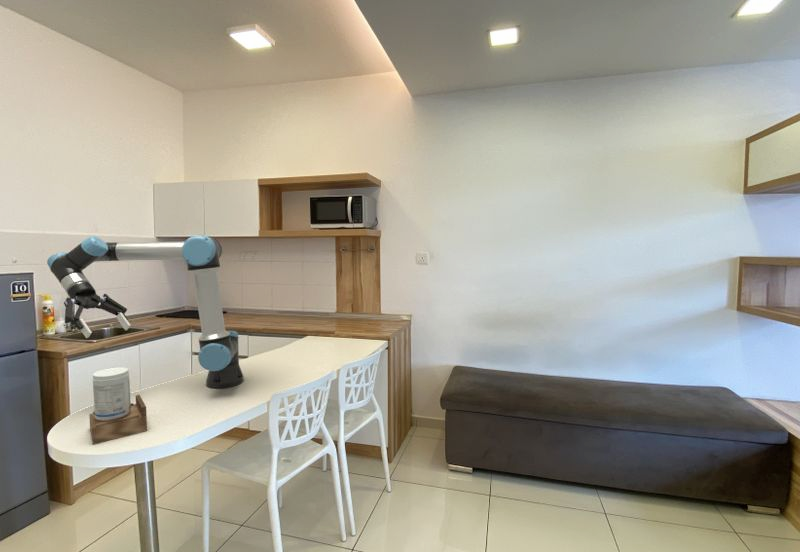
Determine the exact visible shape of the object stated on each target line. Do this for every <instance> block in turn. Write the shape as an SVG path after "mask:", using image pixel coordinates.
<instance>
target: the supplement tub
mask: <svg viewBox="0 0 800 552" xmlns="http://www.w3.org/2000/svg"><path fill="white" fill-rule="evenodd" d="M130 382H131V381H130V373H129V368H127V367H122V366H121V367H112V368H111V367H110V368H105V369H101V370H98V371H95V372H94V373H92V390H93V405H94V409H93V410H94V411H95V418H96V419H97V420H99V421H110V420H115V419H119V418H122V417H124V416H126V415H127V414H129V413H130V411H131V403H132V402H131V385H130Z"/></svg>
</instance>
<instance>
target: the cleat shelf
mask: <svg viewBox="0 0 800 552" xmlns="http://www.w3.org/2000/svg"><path fill="white" fill-rule="evenodd" d="M88 416H89V429H90V435H91V443H92V445H97V444H99V443H104V442H107V441H112V440H115V439H120V438H124V437H129V436H132V435H135V434H140V433H144V432H147V431H148V421H147V419H148V418H147V417H148V416H147V405H146V404H145V402H144V400H143V398H142V397H141V394H136V395H135V403H133V402H131V411H130V413H129V414H127V415H126V416H124V417H122V418H119V419H115V420H110V421H99V420H97V419H96V418H95V410H93V411H92V412H90V413H89V415H88Z"/></svg>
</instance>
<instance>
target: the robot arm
mask: <svg viewBox="0 0 800 552" xmlns="http://www.w3.org/2000/svg"><path fill="white" fill-rule="evenodd" d="M222 254H223V247H222V245H221V243H220V241H218V239H217V238H215V237H212V236H209V235H208V236H207V235H204V234H201V235H200V234H198V235H192V236H191V237H189V238H187V239H186V240H184V241H141V242H138V241H136V242H135V241H134V242H133V241H131V242H129V241H127V242H122V241H121V242H117V241H116V242H115V241H114V242H110V241H109V242H105V241H104V240H102V239H101V238H100V237H98V236H95V235H91V236H89V237H87V238H86V239H84V240H83V241H82V242H81V243H79V244H77V245H76V246H75V247H74V248H73V249H72V250H71V249H70V251H69V252H66V251H65V252H64V251H63V252H62V251H61V252H56V254H55V253H54V254H51V255H50V256H49V257H48V258H47V260H46V264H47V266H48V268H49V271H50V272H51V273H52V274H53V275H54V276H55V278H56V279H57V280H58V282H59V283H60V285H61V287H62V288H63V290H64V291H65V292H66V293H67V295H68V297H66V298H65V300H64V302H63V305H64V307H65V310H64V311H65V313H64V323H65V324H69V323H70V325H71V326H75V328H76V329H77V330H79V331H81V333H82V334H83V335H84V337H85V339H88V338H89V337H90V336H91V334H92V333H93V331H92V330H91V329H90V328H89V326H88V324H87V323H86V322H85V320H84V319H83V318H80V317H81V316H82V313H83V310H84V309H85V310H89V309H98V310H103V311H105V312H108V313H109V314H112V315H113V316H115V318H116V319H117V321H118V322H119V323H120V326H122V328H123V329H124V330H125V331H128V330H129V329H130V327H131V325H132V324H131V323H130V322H129V321H128V317H127V316H126V312H127V310H128V308H127V307H125V306H123V305H121V304H120V303H119V302H117V301H115V300H114V299H113V298H111V297H110V296H109V295H108V294H107V293H104V294H103V295H98V294H97V292H96V289H95V288H94V286H93V285H92V284H91V283H90V281H89V279H88V278H87V277H86V275H85V274H84V273H83V270H85V269H86V268H87V267H90V265H92V264H93V263H96V262H118V261H119V262H121V261H125V262H126V261H127V262H128V261H175V260H177V261H178V260H181V261H182V260H184V261H185V262H186V265H187V272H189V273H190V274H192V277H193V278H192V279H193V283H194V291H195V297H196V303H197V309H198V316H199V322H200V328H201V335H200V336H199V337H198V343H199V351H198V356H197V359H198V363H199V365H200V367H202V368H203V369H205V370H206V371H208V373H207V377H206V380H205V384H206V385H205V386H206V387H208V388H210V389H225V388H232V387H235V386H238V385H240V384H242V383H243V382H244V374H243V371H242V369H241V366H240V360H239V359H240V358H239V354H240V353H239V333H238V331H236V330H226V327H225V320H224V313H223V311H224V310H223V306H222V299H221V294H220V293H221V291H220V285H219V279H218V271H219V270H220V268H221V265H220V259H221V257H222ZM74 304H75V305H76V306H78V308H77V310H76V312H75V314H74V316H73V308H74ZM99 304H100V305H99Z"/></svg>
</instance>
